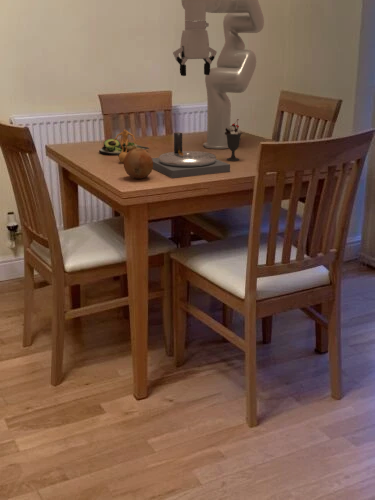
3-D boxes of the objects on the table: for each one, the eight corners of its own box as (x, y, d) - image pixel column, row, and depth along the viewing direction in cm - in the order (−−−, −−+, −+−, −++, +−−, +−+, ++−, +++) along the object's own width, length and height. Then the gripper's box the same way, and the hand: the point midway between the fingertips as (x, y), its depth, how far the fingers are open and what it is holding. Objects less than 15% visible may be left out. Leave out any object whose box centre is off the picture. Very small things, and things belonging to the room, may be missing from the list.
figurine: (111, 163, 235) (110, 130, 231) (116, 160, 241) (115, 128, 237) (133, 164, 234) (132, 131, 230) (138, 161, 239) (137, 128, 235)
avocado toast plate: (152, 148, 265) (152, 137, 263) (145, 157, 248) (145, 145, 246) (106, 147, 266) (106, 136, 265) (96, 156, 250) (95, 144, 248)
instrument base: (200, 159, 241) (201, 152, 240) (230, 171, 222) (230, 163, 221) (146, 165, 232) (146, 158, 231) (172, 178, 213) (172, 170, 212)
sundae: (243, 158, 243) (244, 118, 238) (239, 162, 237) (240, 121, 232) (227, 157, 245) (227, 117, 240) (222, 160, 239) (222, 120, 234)
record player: (150, 158, 231) (150, 134, 228) (200, 153, 239) (200, 130, 236) (173, 168, 214) (172, 143, 211) (225, 163, 221) (226, 138, 219)
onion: (151, 174, 219) (151, 145, 215) (155, 181, 209) (154, 150, 206) (123, 175, 217) (122, 146, 214) (125, 182, 208) (124, 151, 204)
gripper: (211, 26, 238) (211, 73, 244) (169, 26, 231) (169, 75, 237) (221, 26, 232) (220, 75, 237) (178, 26, 224) (178, 76, 230)
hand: (195, 75), depth 237 cm, fingers open, 9 cm apart
